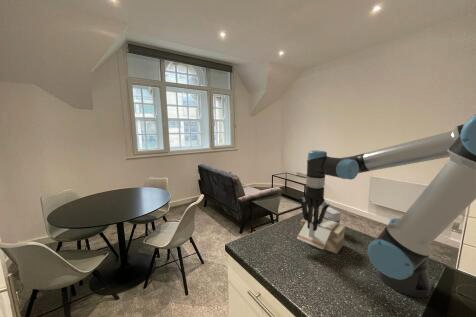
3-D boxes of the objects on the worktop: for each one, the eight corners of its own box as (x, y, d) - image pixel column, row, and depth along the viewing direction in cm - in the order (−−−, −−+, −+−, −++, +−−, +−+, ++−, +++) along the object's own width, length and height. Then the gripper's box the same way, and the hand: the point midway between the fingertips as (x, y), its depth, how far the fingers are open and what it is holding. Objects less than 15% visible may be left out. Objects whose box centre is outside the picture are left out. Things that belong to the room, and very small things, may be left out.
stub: (331, 232, 89) (330, 230, 89) (323, 249, 83) (322, 248, 83) (305, 223, 97) (305, 222, 97) (297, 238, 92) (296, 237, 91)
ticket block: (343, 244, 96) (345, 224, 94) (336, 254, 89) (338, 231, 87) (308, 231, 108) (309, 213, 107) (299, 239, 101) (300, 219, 99)
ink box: (321, 226, 114) (322, 207, 112) (328, 225, 115) (329, 206, 114) (332, 234, 106) (333, 213, 104) (339, 232, 107) (341, 212, 106)
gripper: (333, 187, 84) (329, 238, 87) (304, 181, 92) (301, 228, 96) (327, 191, 78) (323, 245, 82) (297, 184, 87) (294, 233, 90)
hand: (311, 236), depth 89 cm, fingers closed
